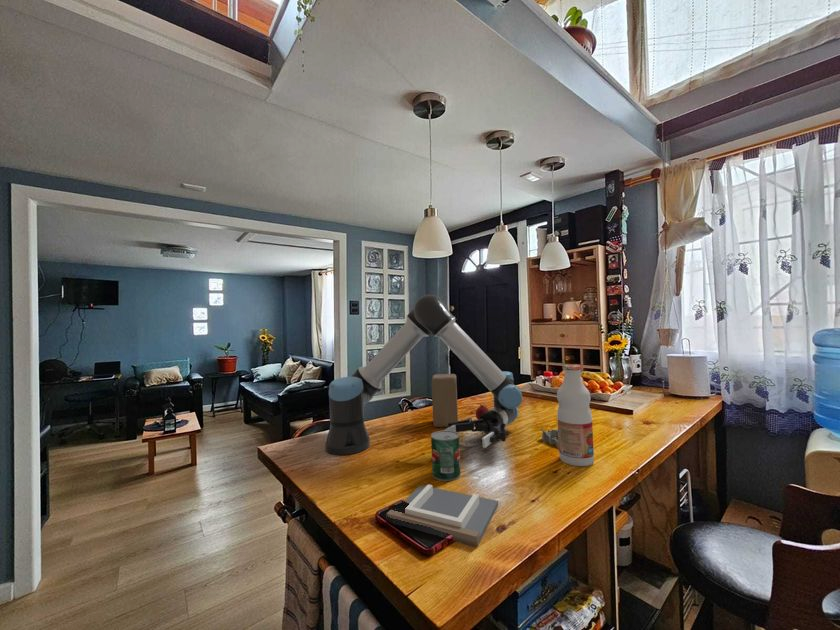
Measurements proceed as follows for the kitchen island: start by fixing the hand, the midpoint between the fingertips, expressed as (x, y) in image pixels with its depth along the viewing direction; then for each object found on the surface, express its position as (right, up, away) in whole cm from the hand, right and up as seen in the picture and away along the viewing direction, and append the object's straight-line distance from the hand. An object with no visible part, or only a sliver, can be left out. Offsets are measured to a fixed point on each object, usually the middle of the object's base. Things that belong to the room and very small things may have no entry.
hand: (462, 438), depth 103 cm
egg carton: (+34, -6, +13) cm, 37 cm away
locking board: (-8, -7, -27) cm, 29 cm away
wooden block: (-2, -8, +39) cm, 40 cm away
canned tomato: (-6, -7, -8) cm, 12 cm away
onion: (+13, -7, +38) cm, 41 cm away
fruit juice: (+33, -6, -2) cm, 34 cm away
